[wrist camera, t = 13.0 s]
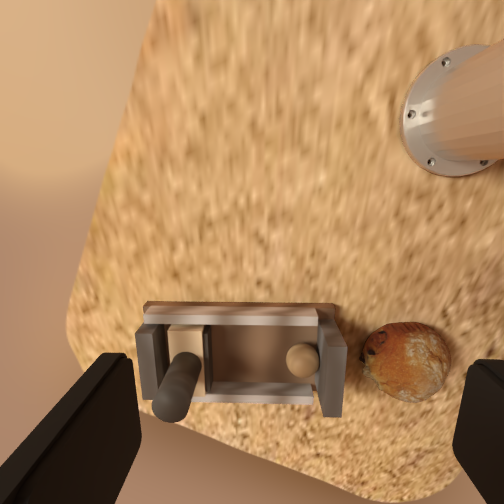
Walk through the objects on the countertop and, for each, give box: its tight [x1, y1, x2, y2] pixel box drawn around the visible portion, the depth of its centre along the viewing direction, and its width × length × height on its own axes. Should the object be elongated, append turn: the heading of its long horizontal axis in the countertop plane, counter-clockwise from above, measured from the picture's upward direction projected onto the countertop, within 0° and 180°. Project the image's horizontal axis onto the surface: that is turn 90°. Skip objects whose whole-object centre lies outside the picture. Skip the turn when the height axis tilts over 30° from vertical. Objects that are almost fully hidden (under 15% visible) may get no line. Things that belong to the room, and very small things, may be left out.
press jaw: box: [152, 324, 213, 423], centre depth 34 cm, size 5×9×10 cm, turn 0°
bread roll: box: [359, 322, 451, 402], centre depth 37 cm, size 10×10×8 cm
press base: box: [135, 301, 348, 417], centre depth 36 cm, size 24×12×8 cm, turn 90°
